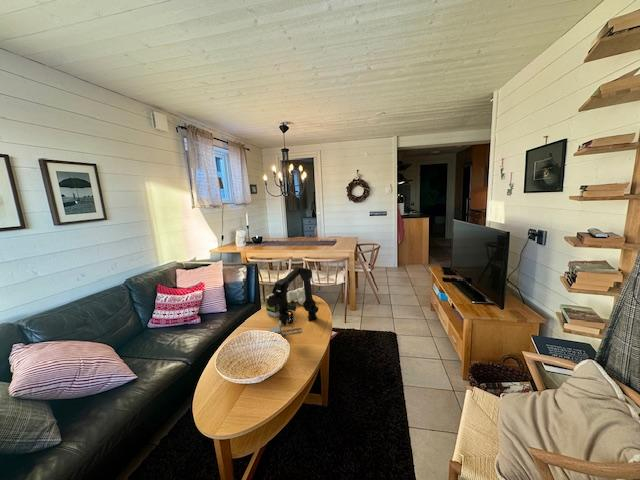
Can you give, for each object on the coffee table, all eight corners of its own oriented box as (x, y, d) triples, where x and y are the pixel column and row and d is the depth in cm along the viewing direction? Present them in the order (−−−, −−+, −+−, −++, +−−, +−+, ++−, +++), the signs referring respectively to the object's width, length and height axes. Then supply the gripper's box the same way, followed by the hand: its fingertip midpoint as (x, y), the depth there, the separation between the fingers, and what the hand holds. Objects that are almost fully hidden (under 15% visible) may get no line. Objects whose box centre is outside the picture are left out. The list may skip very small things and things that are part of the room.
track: (270, 331, 175) (270, 331, 175) (301, 327, 178) (301, 326, 178) (270, 338, 167) (270, 337, 167) (302, 333, 171) (302, 332, 171)
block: (281, 323, 166) (280, 316, 165) (288, 322, 166) (287, 315, 165) (281, 327, 161) (280, 319, 160) (288, 326, 162) (287, 318, 161)
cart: (269, 331, 174) (268, 321, 172) (281, 330, 175) (280, 320, 173) (269, 336, 168) (268, 326, 166) (281, 334, 169) (280, 324, 168)
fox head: (294, 301, 202) (316, 294, 210) (286, 288, 213) (307, 281, 222) (294, 313, 209) (315, 305, 217) (286, 300, 221) (307, 292, 229)
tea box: (280, 306, 211) (278, 289, 208) (289, 309, 205) (287, 292, 202) (266, 314, 199) (264, 296, 196) (275, 317, 193) (273, 299, 190)
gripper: (296, 305, 153) (298, 329, 156) (293, 293, 171) (295, 314, 174) (277, 308, 151) (280, 332, 154) (277, 295, 169) (279, 316, 172)
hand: (284, 323), depth 164 cm, fingers closed on block, 4 cm apart
